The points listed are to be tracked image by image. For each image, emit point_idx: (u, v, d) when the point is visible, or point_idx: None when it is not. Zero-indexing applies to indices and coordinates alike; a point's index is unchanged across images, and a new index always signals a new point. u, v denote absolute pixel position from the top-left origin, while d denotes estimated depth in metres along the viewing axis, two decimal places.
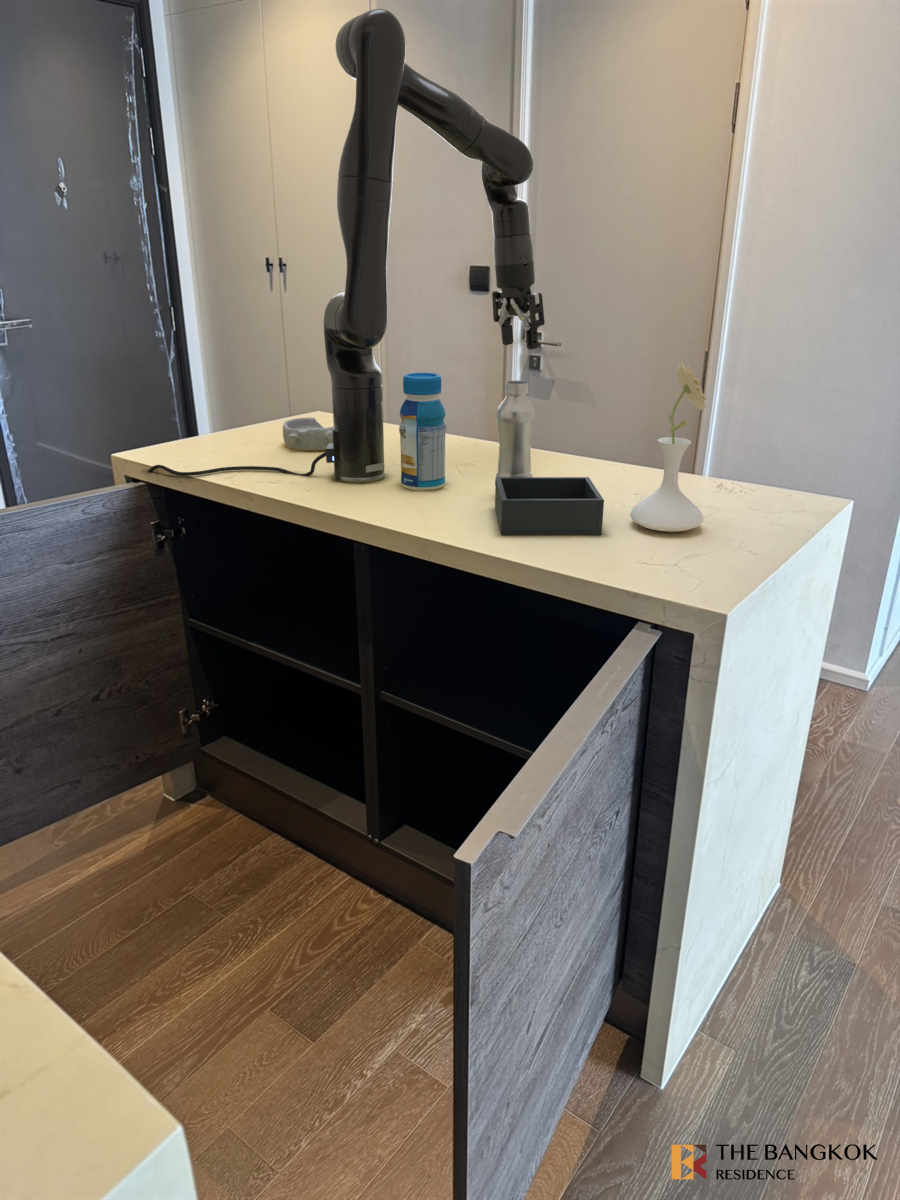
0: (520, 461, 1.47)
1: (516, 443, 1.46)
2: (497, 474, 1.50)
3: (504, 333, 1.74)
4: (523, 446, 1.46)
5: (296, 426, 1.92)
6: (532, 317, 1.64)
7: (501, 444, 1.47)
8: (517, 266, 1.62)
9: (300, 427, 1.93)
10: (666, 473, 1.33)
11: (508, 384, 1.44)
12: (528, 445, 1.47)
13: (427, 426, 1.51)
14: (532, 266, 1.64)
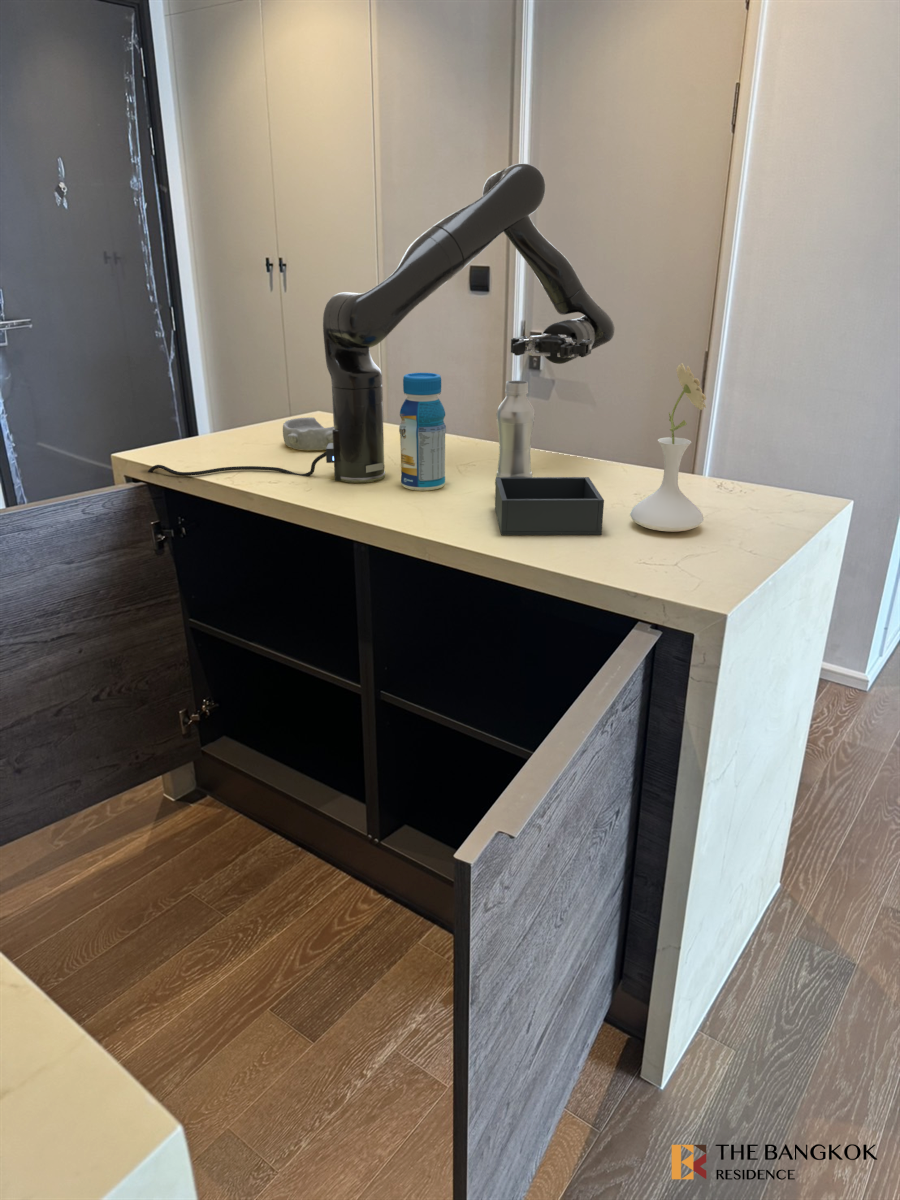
0: (520, 461, 1.47)
1: (516, 443, 1.46)
2: (497, 474, 1.50)
3: (522, 343, 1.55)
4: (523, 446, 1.46)
5: (296, 426, 1.92)
6: (585, 341, 1.55)
7: (501, 444, 1.47)
8: (582, 333, 1.64)
9: (300, 427, 1.93)
10: (666, 473, 1.33)
11: (508, 384, 1.44)
12: (528, 445, 1.47)
13: (427, 426, 1.51)
14: (578, 353, 1.65)
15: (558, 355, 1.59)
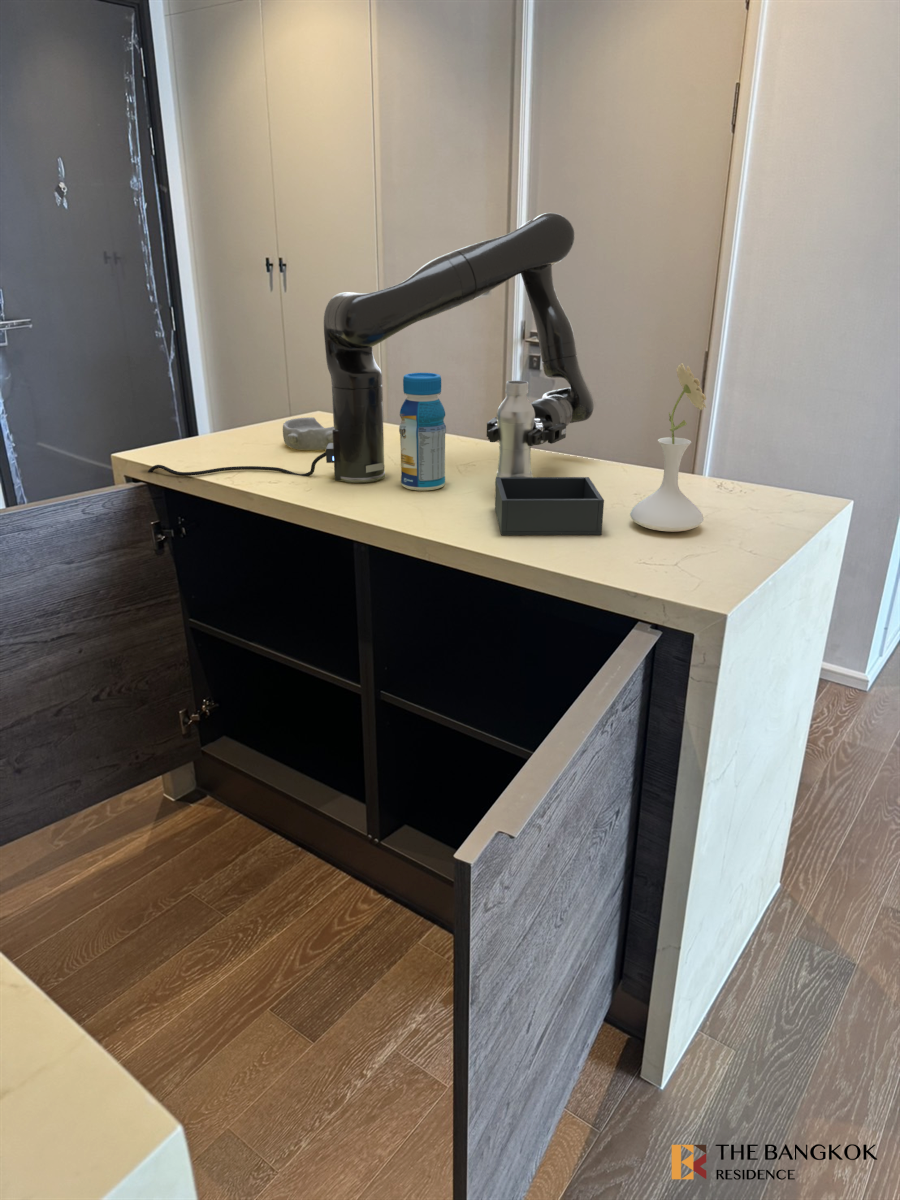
0: (521, 461, 1.47)
1: (517, 443, 1.46)
2: (497, 474, 1.50)
3: None
4: (523, 446, 1.46)
5: (296, 426, 1.92)
6: (555, 427, 1.49)
7: (501, 444, 1.47)
8: (558, 414, 1.58)
9: (300, 427, 1.93)
10: (666, 473, 1.33)
11: (508, 384, 1.44)
12: None
13: (427, 426, 1.51)
14: None
15: None
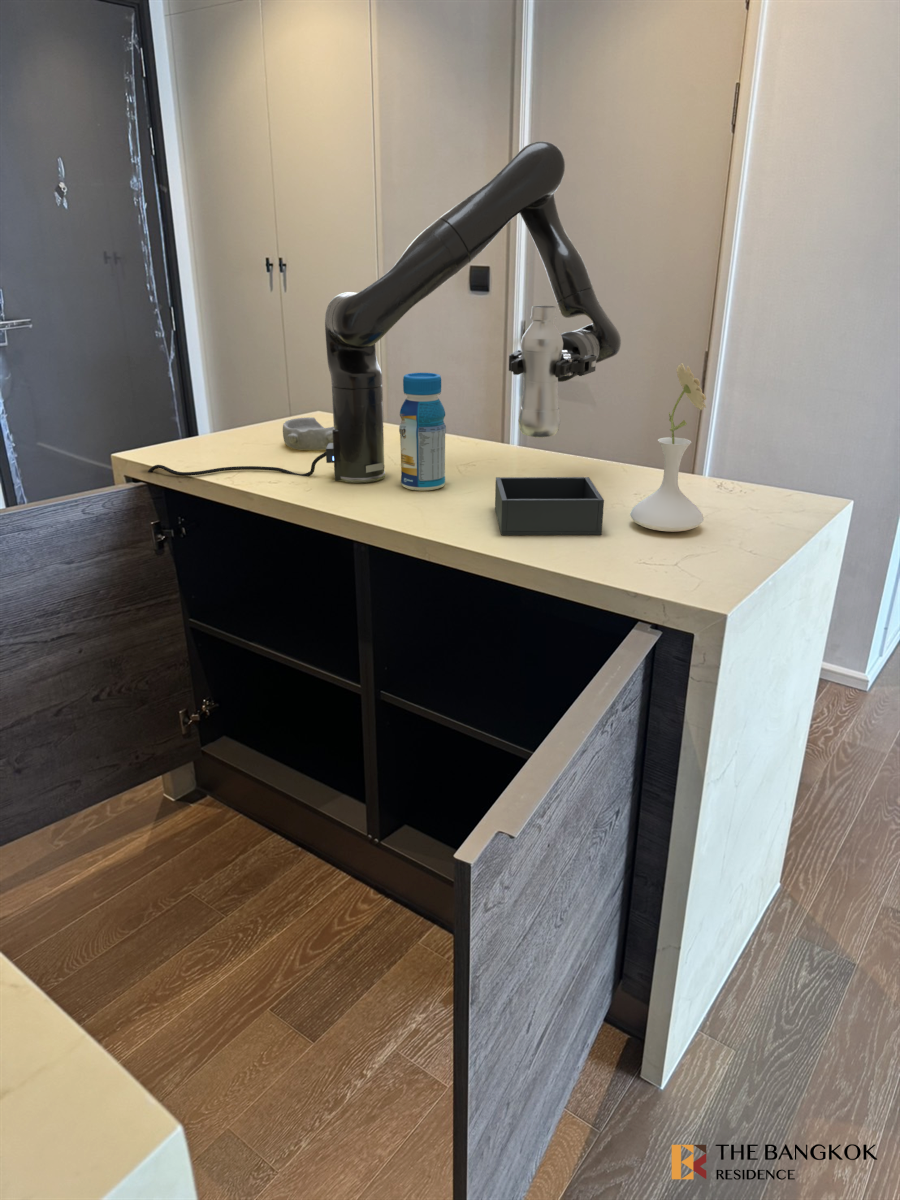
0: (547, 395, 1.34)
1: (543, 375, 1.33)
2: (521, 410, 1.37)
3: None
4: (550, 378, 1.33)
5: (296, 426, 1.92)
6: (585, 358, 1.35)
7: (526, 376, 1.34)
8: (585, 347, 1.44)
9: (300, 427, 1.93)
10: (666, 473, 1.33)
11: (534, 308, 1.30)
12: (556, 377, 1.34)
13: (427, 426, 1.51)
14: None
15: None
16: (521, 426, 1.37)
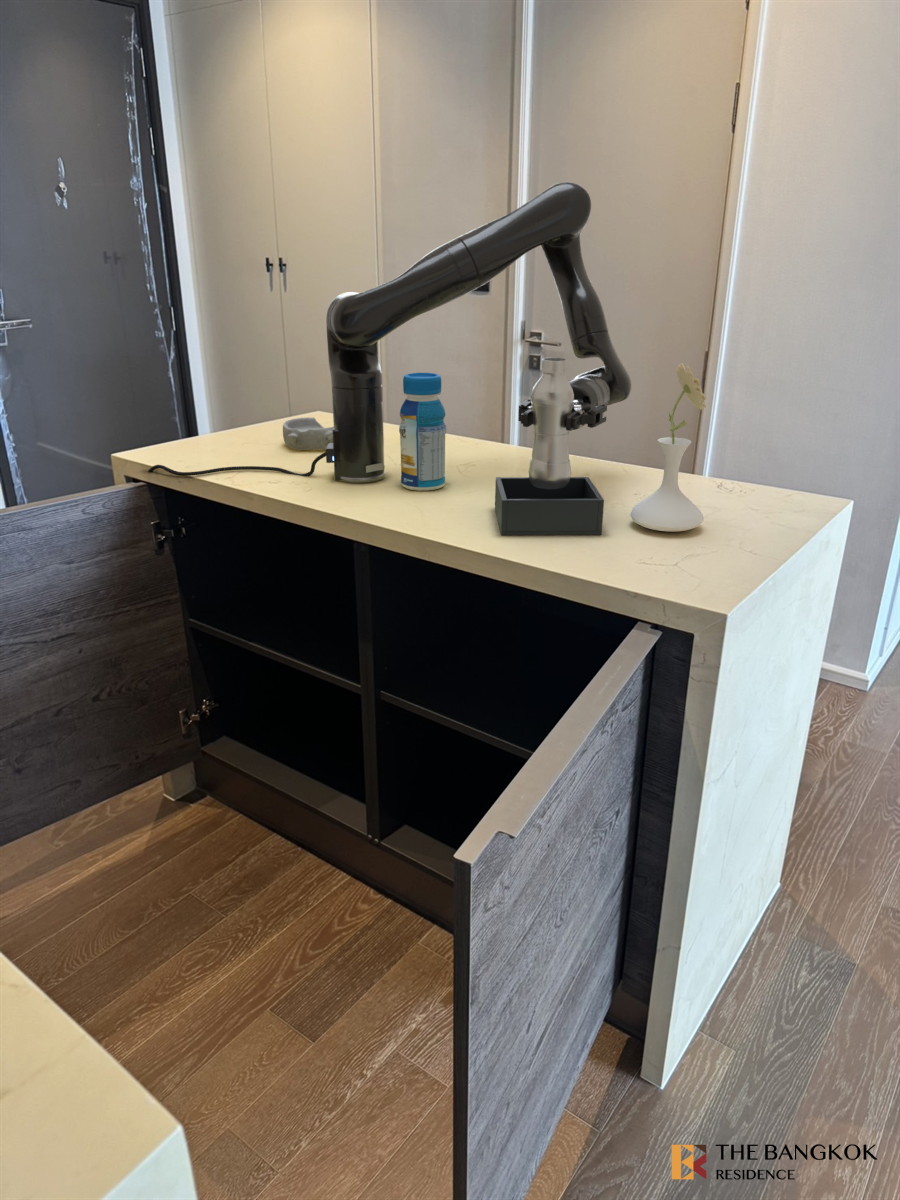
0: (558, 447, 1.32)
1: (554, 428, 1.31)
2: (531, 462, 1.35)
3: None
4: (561, 431, 1.32)
5: (296, 426, 1.92)
6: (596, 409, 1.34)
7: (536, 429, 1.32)
8: (596, 395, 1.43)
9: (300, 427, 1.93)
10: (666, 473, 1.33)
11: (545, 361, 1.29)
12: (566, 430, 1.32)
13: (427, 426, 1.51)
14: None
15: None
16: (531, 478, 1.36)
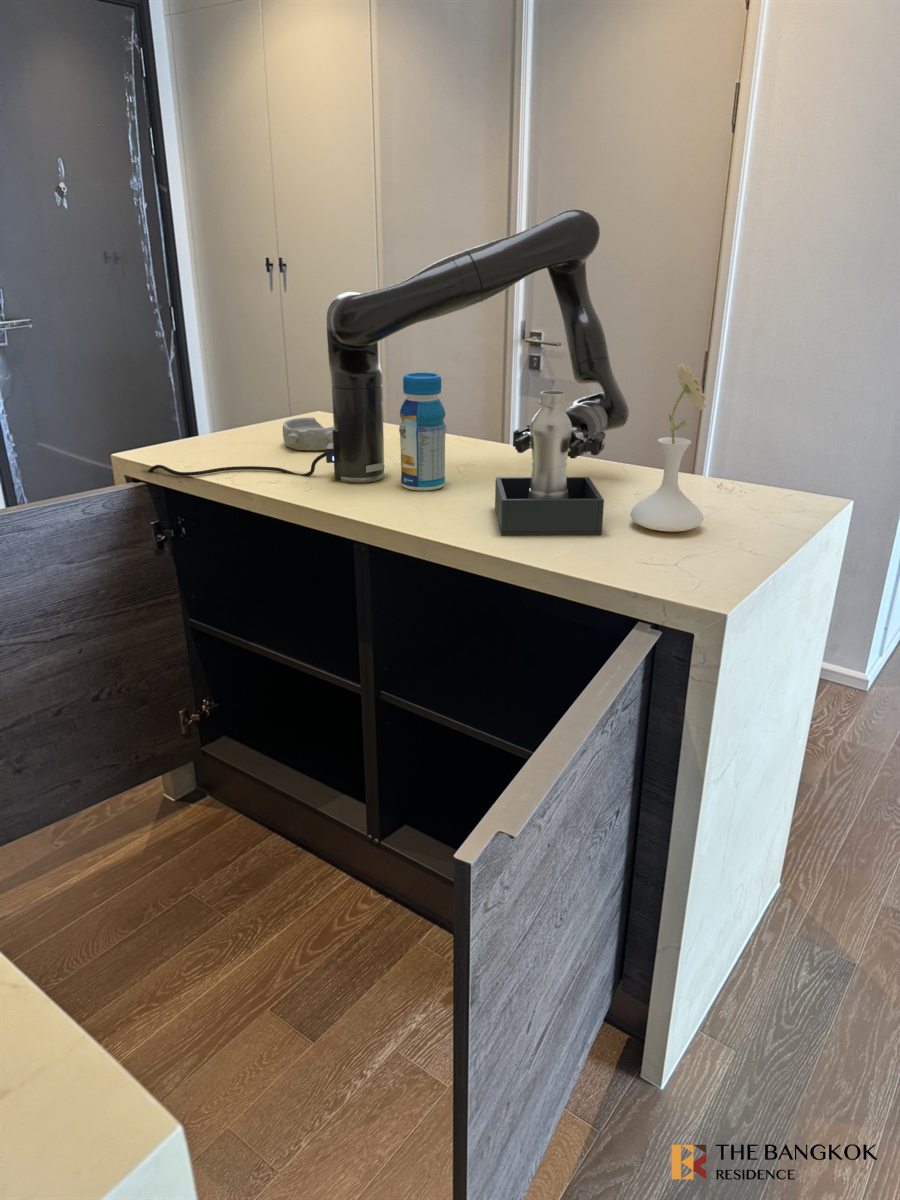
0: (556, 479, 1.34)
1: (552, 459, 1.33)
2: (530, 493, 1.37)
3: (526, 438, 1.36)
4: (559, 462, 1.34)
5: (296, 426, 1.92)
6: (598, 437, 1.35)
7: (535, 460, 1.34)
8: (593, 422, 1.44)
9: (300, 427, 1.93)
10: (666, 473, 1.33)
11: (543, 395, 1.31)
12: (564, 461, 1.34)
13: (427, 426, 1.51)
14: None
15: None
16: None
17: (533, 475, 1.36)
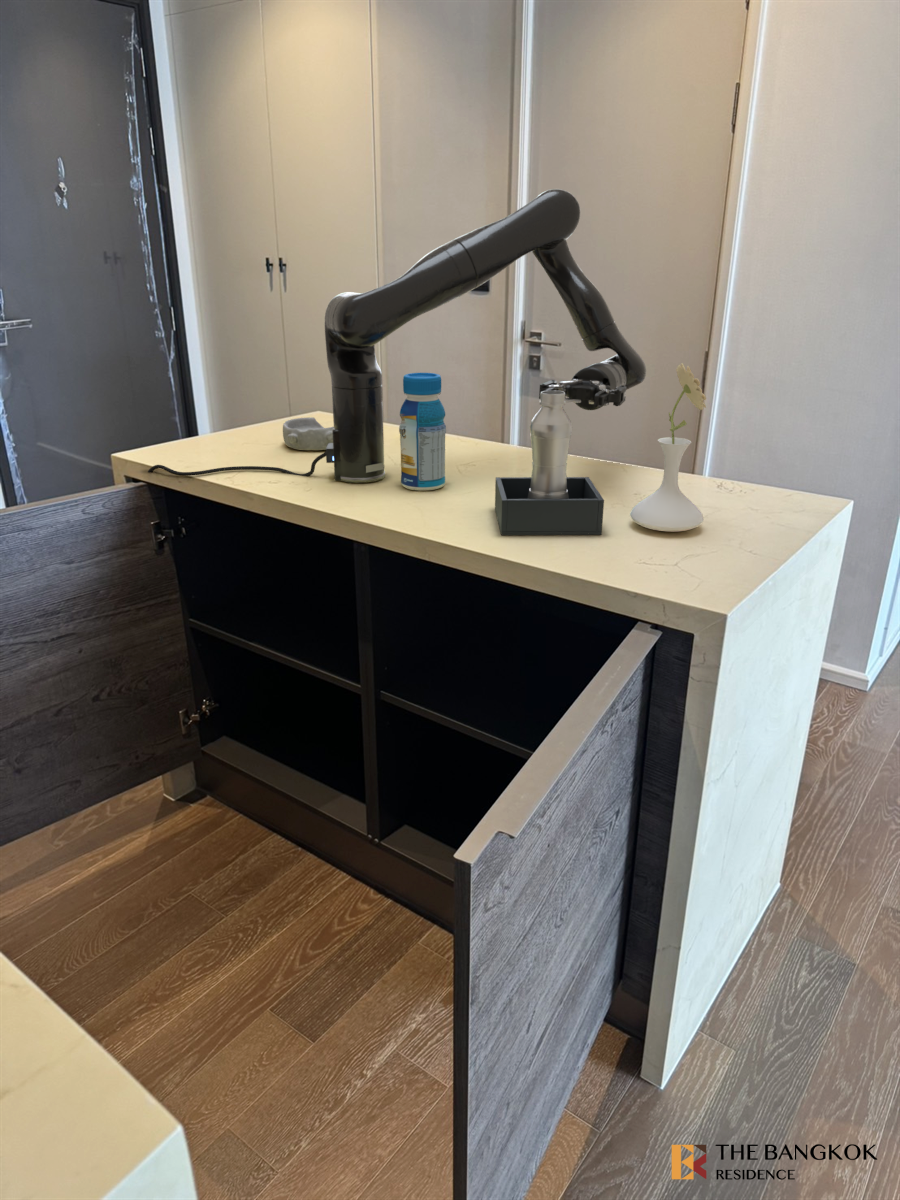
0: (556, 479, 1.34)
1: (552, 459, 1.33)
2: (530, 493, 1.37)
3: (552, 389, 1.45)
4: (559, 462, 1.34)
5: (296, 426, 1.92)
6: (620, 389, 1.44)
7: (535, 460, 1.34)
8: (614, 378, 1.53)
9: (300, 427, 1.93)
10: (666, 473, 1.33)
11: (543, 395, 1.31)
12: (564, 461, 1.34)
13: (427, 426, 1.51)
14: None
15: (590, 402, 1.49)
16: None
17: (533, 475, 1.36)
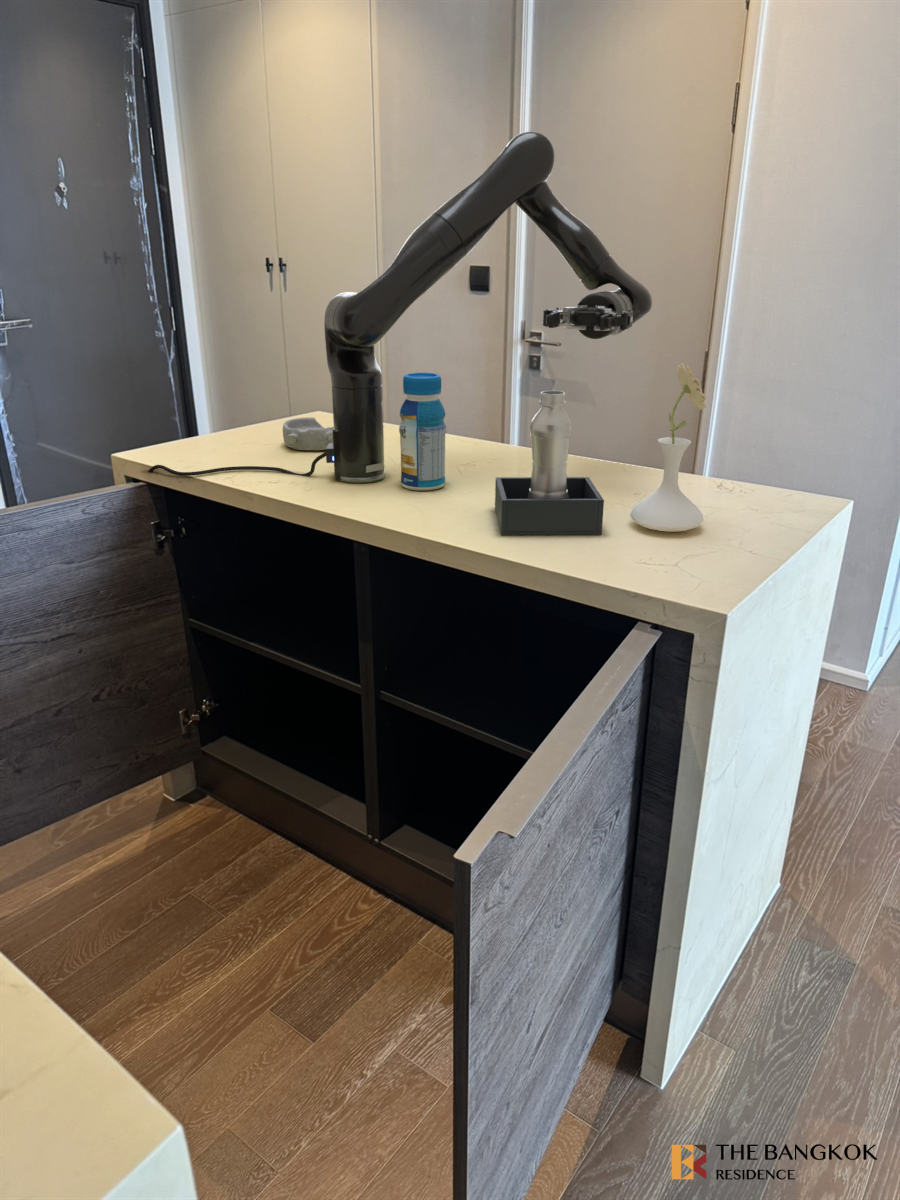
0: (556, 479, 1.34)
1: (552, 459, 1.33)
2: (530, 493, 1.37)
3: (556, 314, 1.40)
4: (559, 462, 1.34)
5: (296, 426, 1.92)
6: None
7: (535, 460, 1.34)
8: (620, 305, 1.48)
9: (300, 427, 1.93)
10: (666, 473, 1.33)
11: (543, 395, 1.31)
12: (564, 461, 1.34)
13: (427, 426, 1.51)
14: (616, 328, 1.49)
15: (595, 329, 1.44)
16: None
17: (533, 475, 1.36)
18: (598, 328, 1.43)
